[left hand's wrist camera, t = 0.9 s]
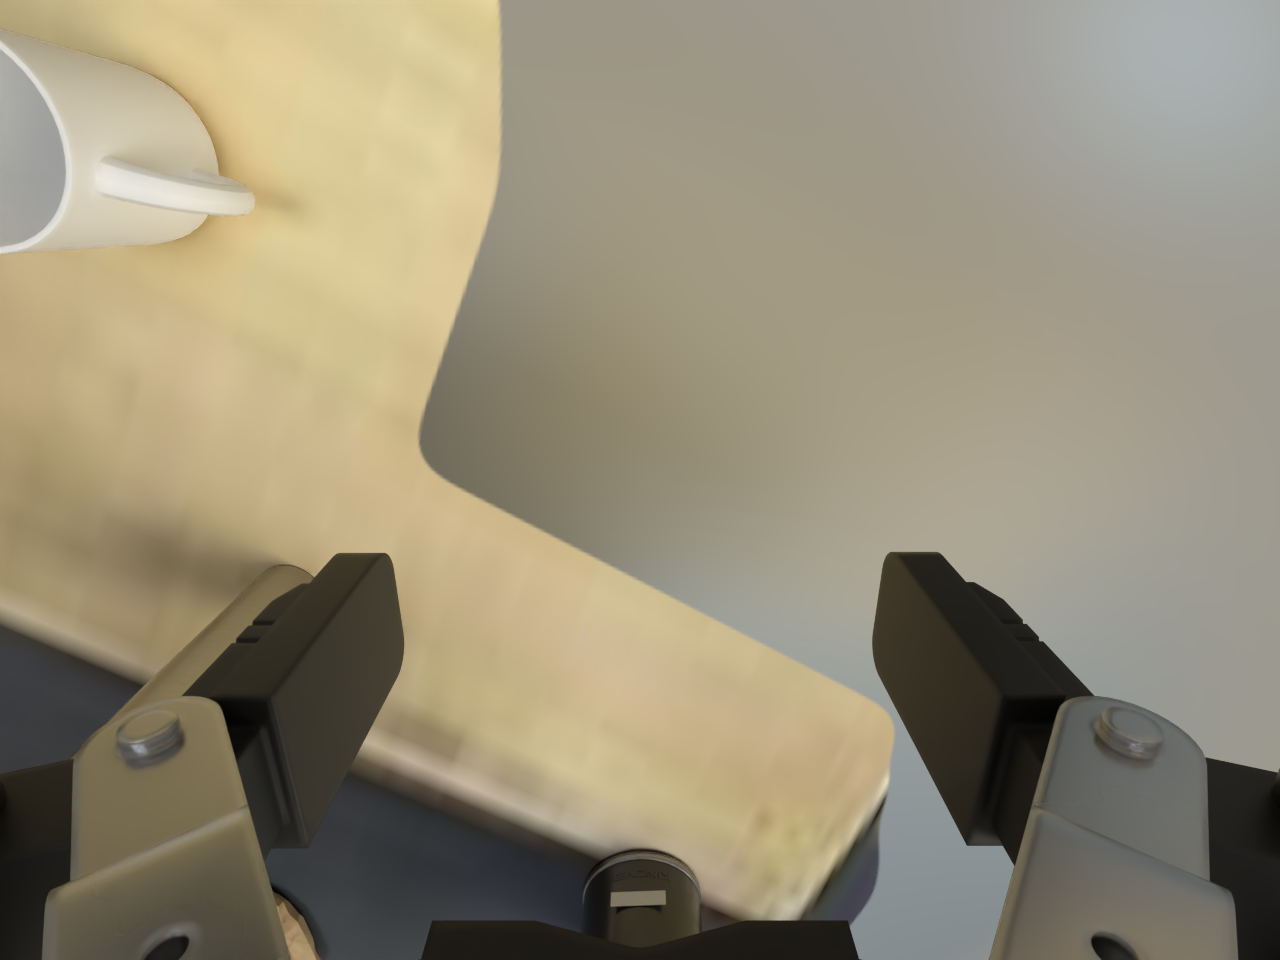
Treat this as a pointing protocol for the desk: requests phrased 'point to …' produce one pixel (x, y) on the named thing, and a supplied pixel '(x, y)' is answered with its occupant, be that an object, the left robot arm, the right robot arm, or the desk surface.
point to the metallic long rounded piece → (215, 638)
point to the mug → (100, 154)
